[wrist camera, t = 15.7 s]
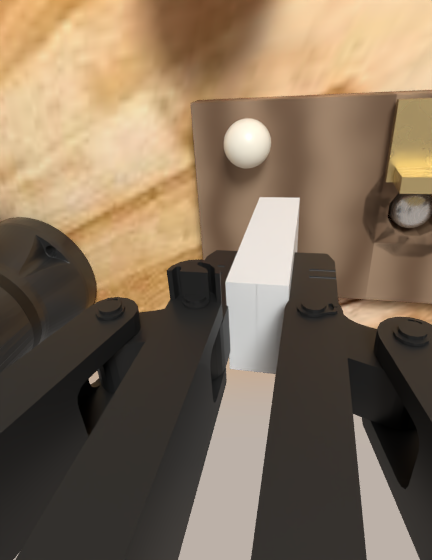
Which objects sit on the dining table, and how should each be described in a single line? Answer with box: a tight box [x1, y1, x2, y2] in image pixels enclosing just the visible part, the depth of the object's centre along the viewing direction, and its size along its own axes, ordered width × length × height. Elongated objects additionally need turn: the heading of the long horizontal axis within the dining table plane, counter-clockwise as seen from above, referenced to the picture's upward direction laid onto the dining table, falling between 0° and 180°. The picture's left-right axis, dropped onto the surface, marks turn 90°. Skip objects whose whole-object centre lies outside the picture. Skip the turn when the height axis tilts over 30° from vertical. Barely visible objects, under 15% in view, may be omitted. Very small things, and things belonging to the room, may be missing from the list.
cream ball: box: [224, 118, 271, 169], centre depth 31 cm, size 4×4×4 cm
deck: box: [191, 90, 432, 304], centre depth 35 cm, size 26×18×2 cm
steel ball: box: [389, 193, 432, 228], centre depth 34 cm, size 3×3×3 cm
